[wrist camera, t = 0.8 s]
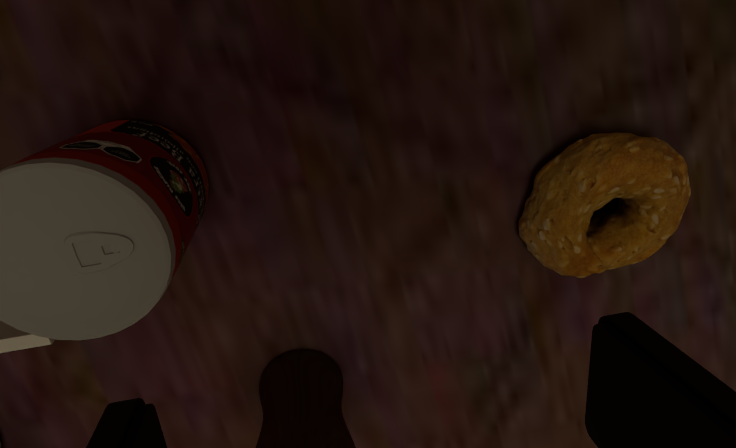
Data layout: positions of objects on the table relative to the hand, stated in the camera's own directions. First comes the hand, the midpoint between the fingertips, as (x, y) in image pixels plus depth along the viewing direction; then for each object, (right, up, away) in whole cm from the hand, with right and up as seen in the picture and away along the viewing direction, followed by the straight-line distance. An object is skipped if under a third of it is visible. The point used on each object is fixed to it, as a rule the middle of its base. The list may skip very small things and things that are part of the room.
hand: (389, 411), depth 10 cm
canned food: (-14, +7, +19) cm, 24 cm away
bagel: (+15, +6, +24) cm, 29 cm away
